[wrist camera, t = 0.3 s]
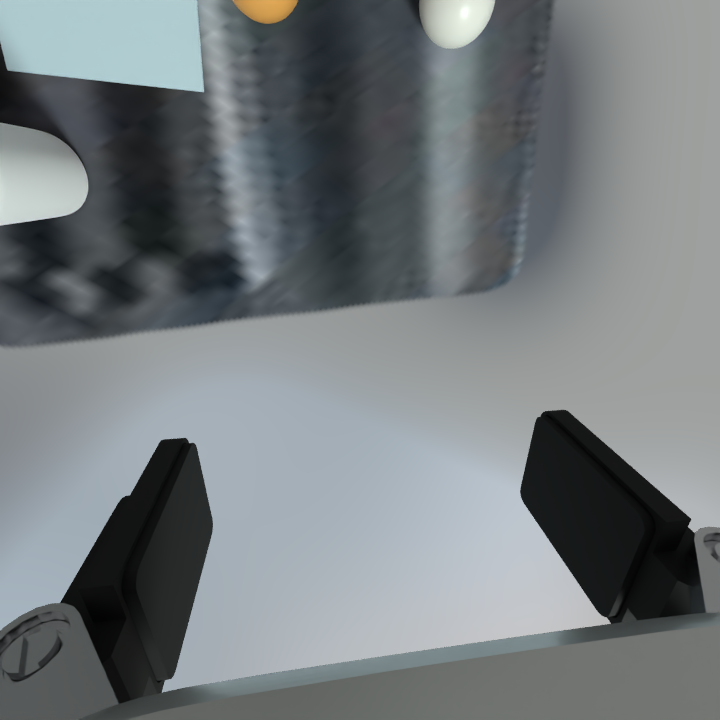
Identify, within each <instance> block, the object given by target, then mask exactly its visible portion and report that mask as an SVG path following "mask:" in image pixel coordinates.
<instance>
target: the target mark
mask: <svg viewBox="0 0 720 720" xmlns="http://www.w3.org/2000/svg"><path fill="white" fill-rule="evenodd" d="M0 43H1V47H2V51H3V55H4V59H5V63H6V67H7V70H8V71H15V72H25V73H34V74H43V75H52V76H61V77H70V78H79V79H88V80H97V81H106V82H115V83H125V84H134V85H143V86H152V87H161V88H170V89H179V90H188V91H197V92H204V81H203V68H202V55H201V42H200V29H199V16H198V3H197V0H0Z"/></svg>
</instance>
